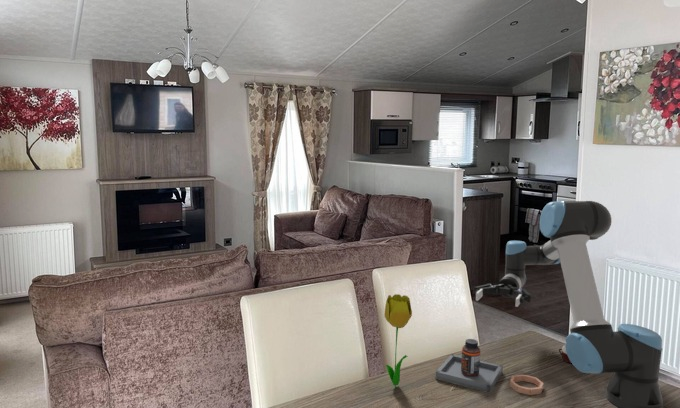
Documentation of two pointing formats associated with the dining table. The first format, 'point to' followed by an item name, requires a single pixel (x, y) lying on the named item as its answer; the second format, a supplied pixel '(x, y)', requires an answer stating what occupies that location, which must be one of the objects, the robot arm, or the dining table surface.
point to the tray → (482, 381)
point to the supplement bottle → (470, 358)
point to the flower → (397, 325)
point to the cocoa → (564, 354)
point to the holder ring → (523, 389)
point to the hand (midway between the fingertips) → (496, 299)
